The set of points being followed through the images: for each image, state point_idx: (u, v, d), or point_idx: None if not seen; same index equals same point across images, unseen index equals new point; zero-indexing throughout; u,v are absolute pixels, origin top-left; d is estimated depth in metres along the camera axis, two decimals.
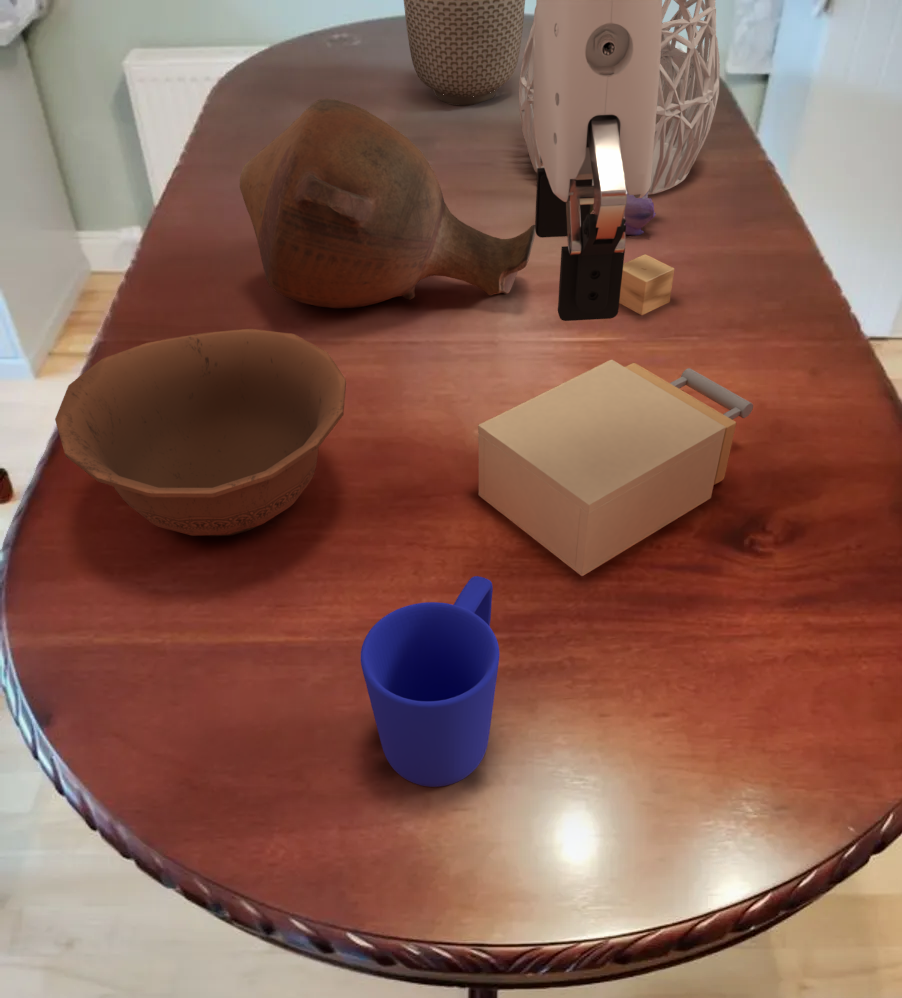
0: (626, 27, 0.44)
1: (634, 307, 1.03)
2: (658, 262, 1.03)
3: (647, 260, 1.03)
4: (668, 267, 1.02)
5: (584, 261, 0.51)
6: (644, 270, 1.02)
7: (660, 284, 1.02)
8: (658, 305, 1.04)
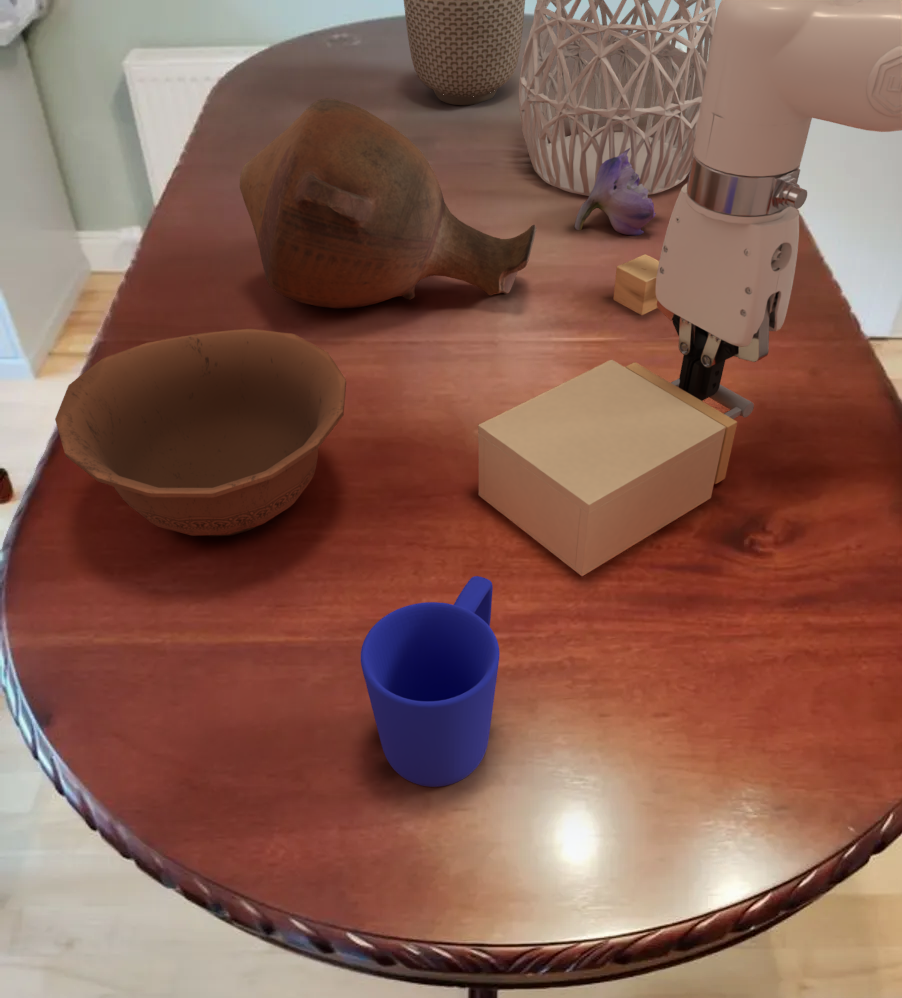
0: (790, 242, 0.72)
1: (634, 307, 1.03)
2: (658, 262, 1.03)
3: (647, 260, 1.03)
4: None
5: (713, 368, 0.81)
6: (644, 270, 1.02)
7: None
8: None
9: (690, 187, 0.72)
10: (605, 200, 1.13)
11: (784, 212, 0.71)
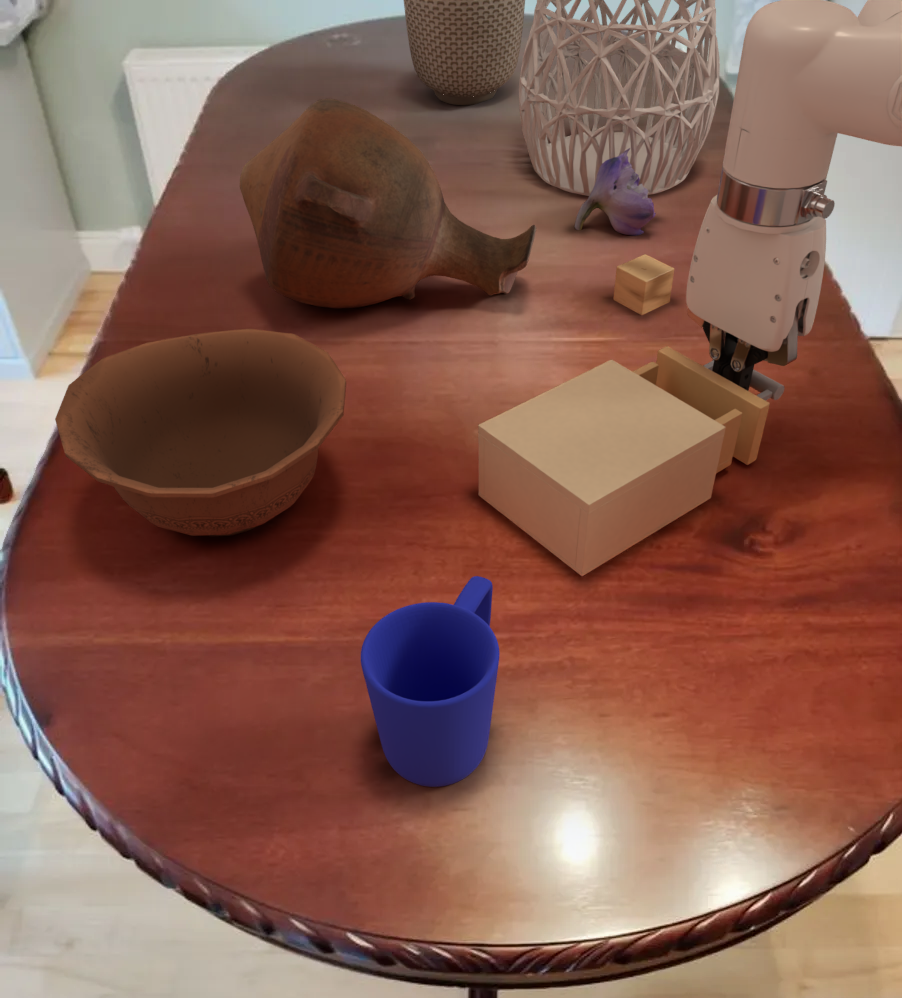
0: (818, 251, 0.74)
1: (634, 307, 1.03)
2: (658, 262, 1.03)
3: (647, 260, 1.03)
4: (668, 267, 1.02)
5: (743, 372, 0.84)
6: (644, 270, 1.02)
7: (660, 284, 1.02)
8: (658, 305, 1.04)
9: (720, 199, 0.74)
10: (605, 200, 1.13)
11: (812, 222, 0.74)
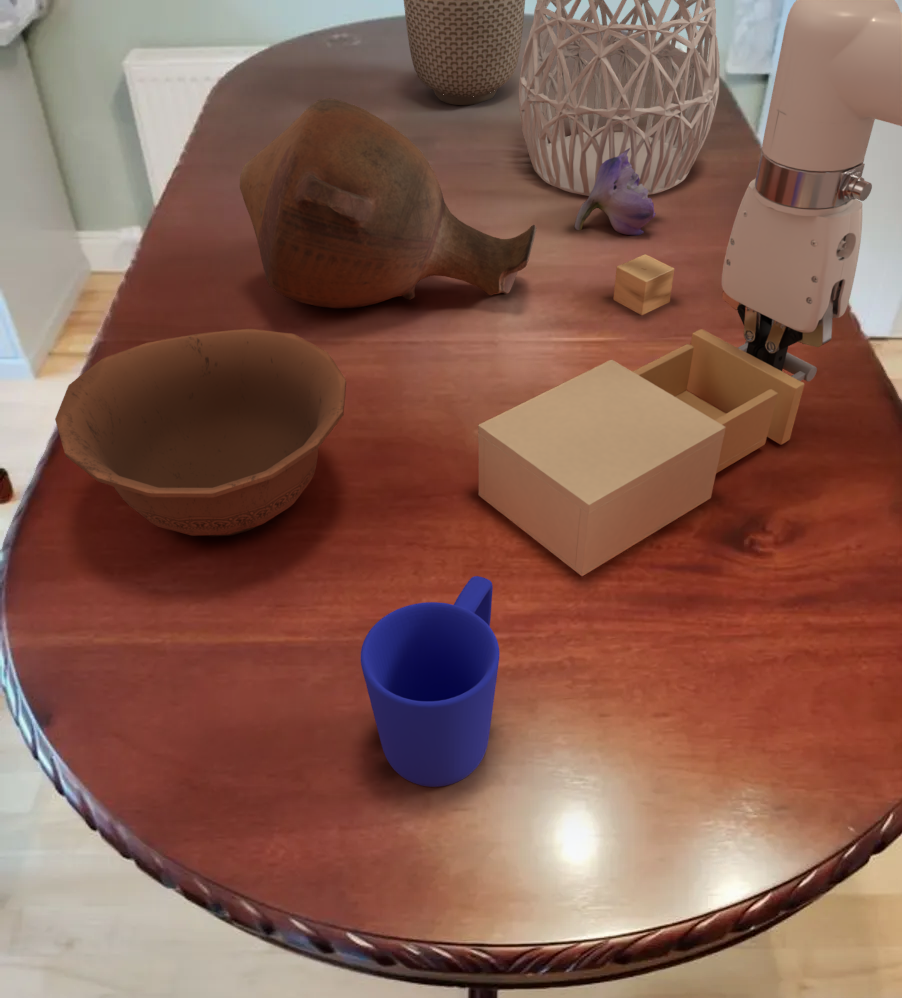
0: (854, 233, 0.76)
1: (634, 307, 1.03)
2: (658, 262, 1.03)
3: (647, 260, 1.03)
4: (668, 267, 1.02)
5: (777, 354, 0.86)
6: (644, 270, 1.02)
7: (660, 284, 1.02)
8: (658, 305, 1.04)
9: (759, 183, 0.76)
10: (605, 200, 1.13)
11: (849, 204, 0.76)
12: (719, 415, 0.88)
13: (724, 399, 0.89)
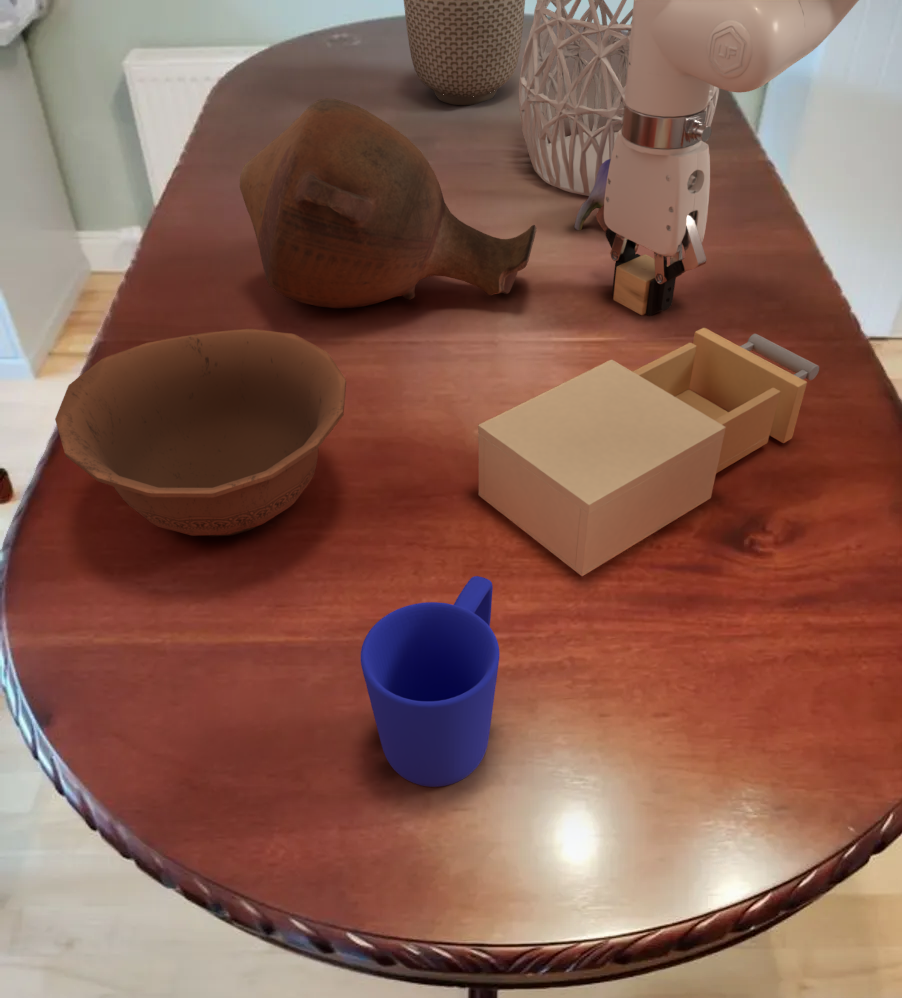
0: (702, 170, 0.92)
1: (634, 307, 1.03)
2: None
3: (647, 260, 1.03)
4: None
5: (665, 284, 1.00)
6: (644, 270, 1.02)
7: None
8: None
9: (623, 128, 0.92)
10: None
11: (696, 146, 0.91)
12: (722, 414, 0.88)
13: (727, 397, 0.89)
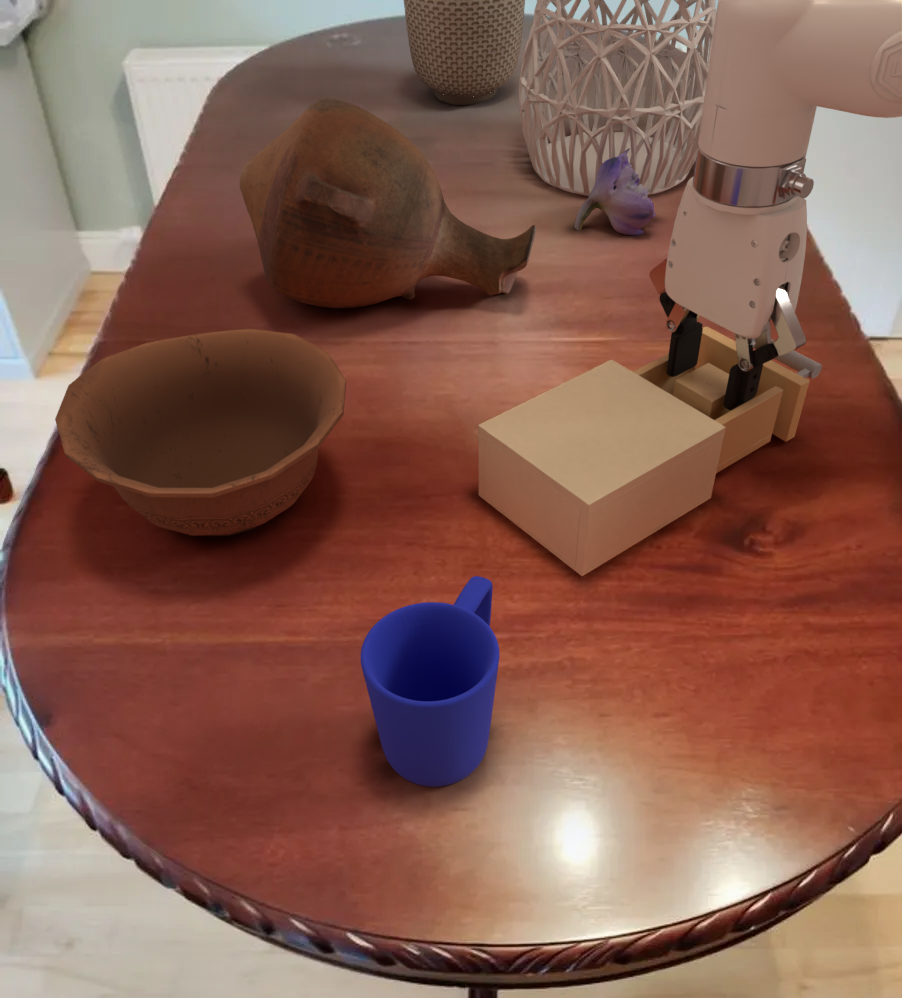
0: (798, 232, 0.71)
1: None
2: (725, 374, 0.85)
3: (712, 372, 0.85)
4: None
5: (751, 372, 0.79)
6: (709, 386, 0.84)
7: None
8: None
9: (696, 180, 0.72)
10: (605, 200, 1.13)
11: (791, 202, 0.71)
12: None
13: None
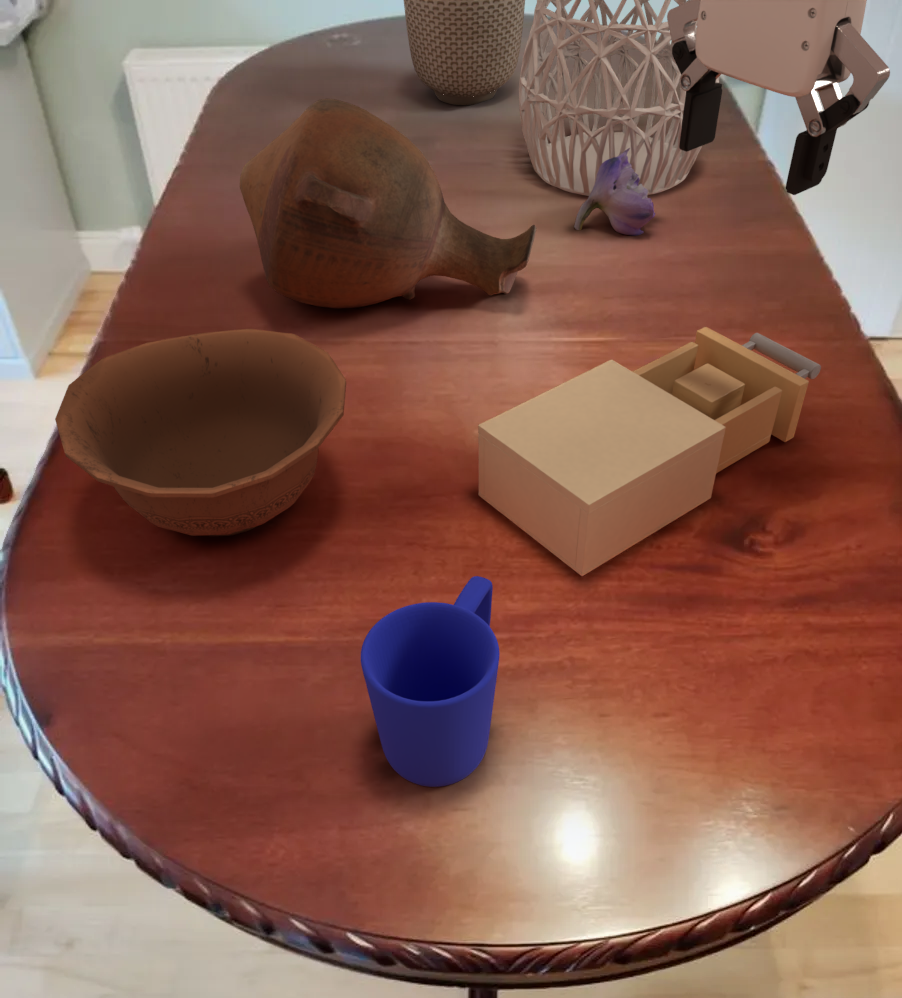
0: None
1: None
2: (724, 375, 0.85)
3: (711, 372, 0.85)
4: (737, 382, 0.84)
5: (822, 139, 0.65)
6: (708, 387, 0.84)
7: (727, 402, 0.84)
8: None
9: None
10: (605, 200, 1.13)
11: None
12: None
13: None
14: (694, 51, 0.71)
